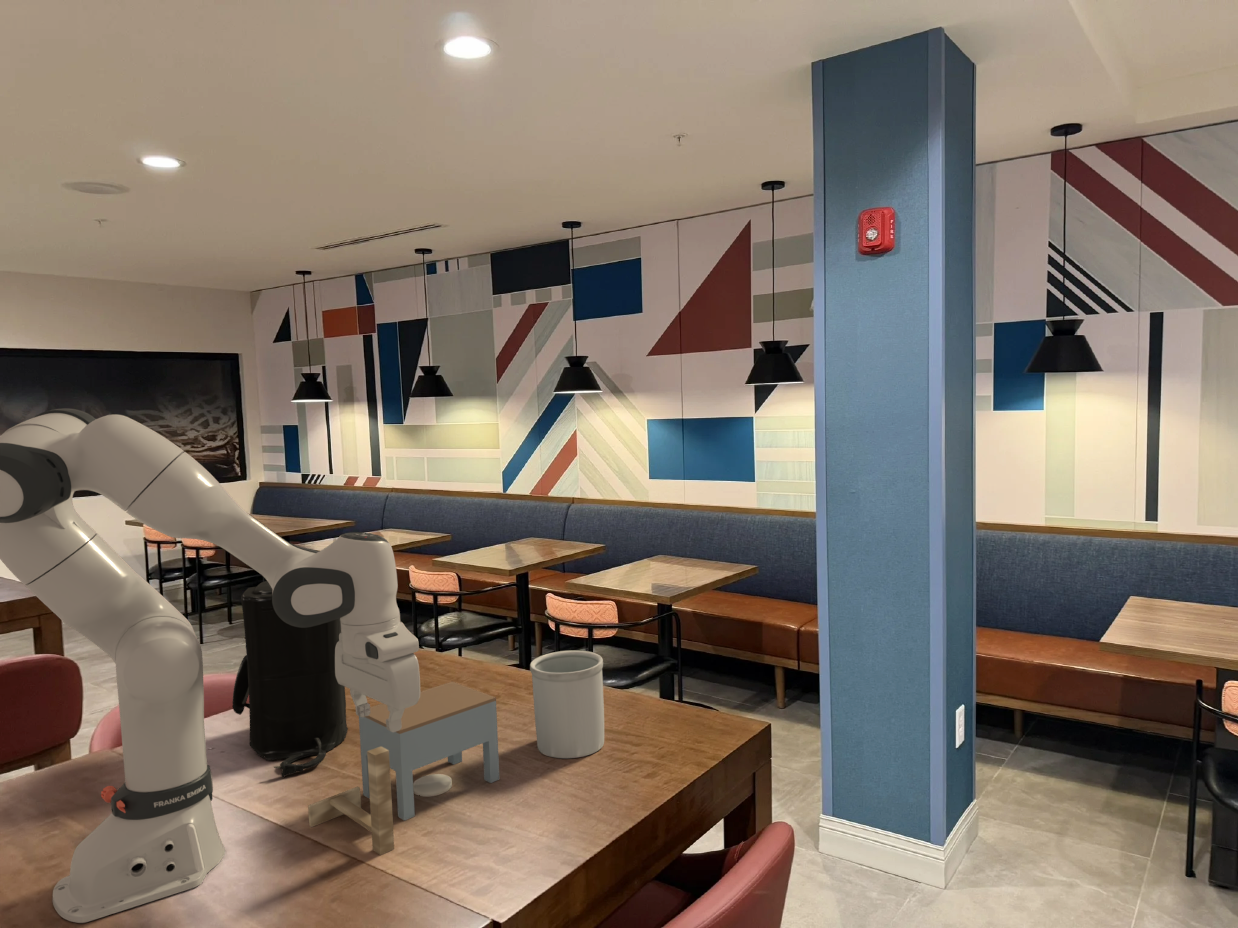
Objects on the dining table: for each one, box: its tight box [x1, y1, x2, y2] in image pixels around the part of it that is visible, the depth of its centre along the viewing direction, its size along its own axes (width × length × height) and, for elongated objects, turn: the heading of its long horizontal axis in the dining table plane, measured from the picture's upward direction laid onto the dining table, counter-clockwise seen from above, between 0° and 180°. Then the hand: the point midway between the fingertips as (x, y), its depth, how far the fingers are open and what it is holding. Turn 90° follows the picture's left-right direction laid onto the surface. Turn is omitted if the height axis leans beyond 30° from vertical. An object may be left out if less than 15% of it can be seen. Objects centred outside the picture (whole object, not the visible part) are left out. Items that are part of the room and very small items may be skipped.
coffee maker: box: [231, 580, 349, 778], centre depth 172 cm, size 23×32×34 cm
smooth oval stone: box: [413, 773, 453, 797], centre depth 149 cm, size 7×7×1 cm
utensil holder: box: [529, 650, 605, 759], centre depth 165 cm, size 15×15×18 cm
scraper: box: [307, 747, 395, 856], centre depth 133 cm, size 9×18×16 cm, turn 46°
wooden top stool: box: [358, 681, 501, 821], centre depth 149 cm, size 20×14×16 cm
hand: (378, 722), depth 127 cm, fingers open, 8 cm apart
